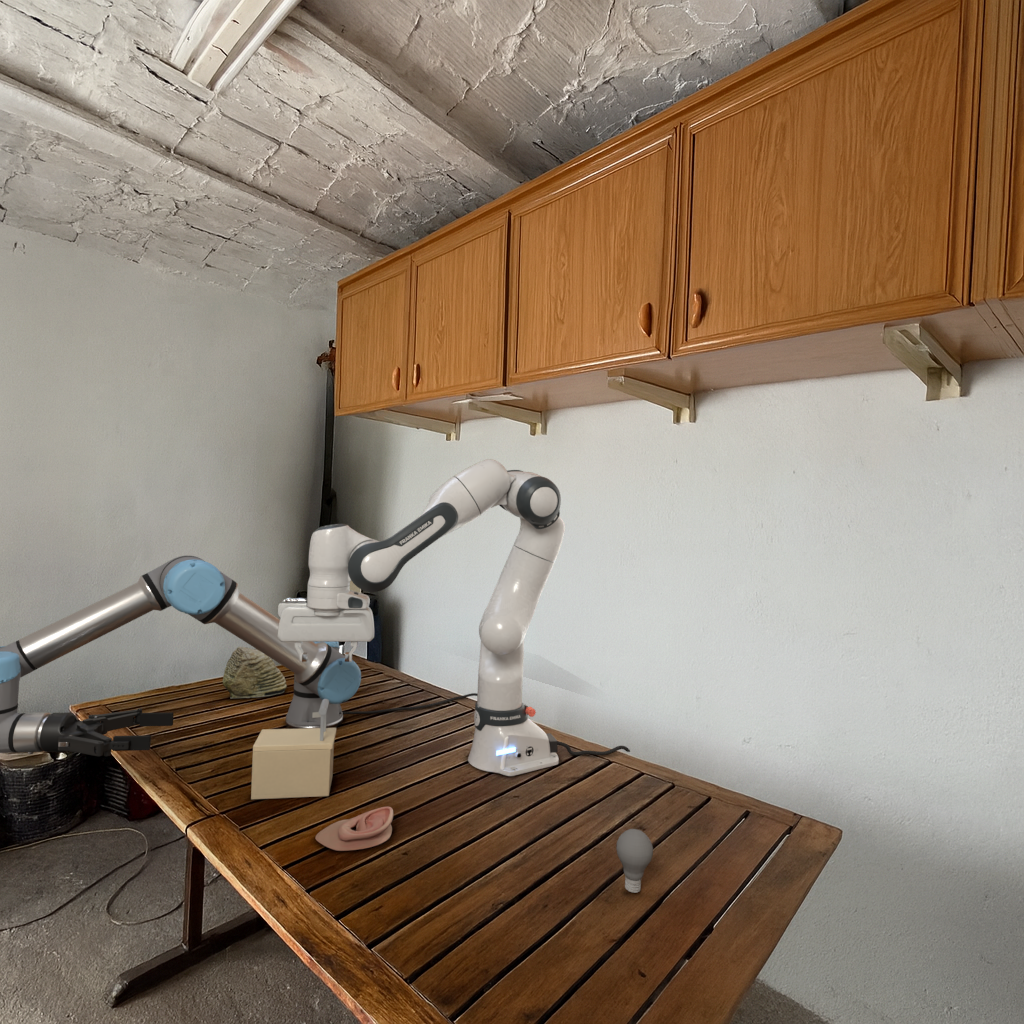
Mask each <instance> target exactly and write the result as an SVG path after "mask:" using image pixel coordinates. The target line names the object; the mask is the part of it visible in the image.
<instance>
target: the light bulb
mask: <svg viewBox="0 0 1024 1024" xmlns="http://www.w3.org/2000/svg"><path fill="white" fill-rule="evenodd" d="M615 849H616V854H617V857H618V859H619V861H620V863H621V865H622V867H623V873H624V874H623V875H624V876H625V878H624V888H625V890H627V891H628V892H630V893H634V894H635V893H639V892H640V891H641V889H642V887H641V886H642V879H643V877H644V875H645V871H646V868H647V867H648V866H649V864H650V863H651V861H652V859H653V855H654V847H653V843H652V841H651V838H649V836H648V835H647V834H646V833H645V832H643V831H642V830H641V829H636V828H629V829H627V830H625V831H623V832H622V833H621V834H620V835H619V837H618V839H617V841H616V847H615Z"/></svg>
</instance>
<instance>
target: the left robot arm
mask: <svg viewBox="0 0 1024 1024" xmlns="http://www.w3.org/2000/svg"><path fill="white" fill-rule="evenodd" d="M171 607H172V608H174V609H175V610H177V611H178V612H180V613H184V614H186V615H188V616H190V617H192V618H194V619H195V620H196V621H199V622H200V623H202V624H203V625H209V624H216V625H218V626H219V627H221V628H222V629H224V630H226V631H227V632H229V633H231V634H232V635H234V636H235V637H237V638H238V639H240V640H242V641H243V642H245V643H246V644H248V645H249V646H251V647H253V649H257V650H259V651H261V652H262V653H264V654H265V655H267V656H268V657H269V658H271V659H272V660H273V661H275V662H276V663H278V664H280V665H281V666H283V667H284V668H286V669H287V670H289V671H291V672H292V673H294V674H293V695H292V696H293V697H292V699H291V702H290V704H289V708H288V711H287V713H286V715H285V726H286V728H287V729H304V728H320V723H321V715H320V714H319V709H320V706H321V703H322V700H323V699H328V700H329V705H328V709H327V715H326V728H337V727H339V726H340V725H342V723H343V722H344V715H372V714H373V715H374V714H382V713H389V712H397V711H410V710H420V709H426V708H431V707H434V706H438V705H443V704H445V703H449V702H452V701H455V700H460V699H465V698H468V697H477V693H478V692H477V693H476V692H473V693H467V694H463V695H457V696H453V697H450V698H448V699H444V700H441V701H437V702H433V703H428V704H423V705H416V706H405V707H392V708H386V709H378V710H369V711H364V710H363V711H361V710H360V711H357V710H353V711H352V710H351V711H343V709H342V706H341V704H342V703H346V702H347V701H349V700H351V698H353V696H354V695H356V694H357V692H358V690H359V688H360V686H361V682H362V672H361V668H360V667H359V665H358V664H357V662H355V661H354V660H353V659H352V662H345V654H343V653H341V652H340V648H341V647H340V642H303V644H302V646H301V648H302V650H303V651H304V652H308V656H307V657H308V659H307V662H300V654H299V653H298V651H297V650H296V648H295V642H281V641H280V640H279V638H278V627H279V622H280V618H278V617H277V616H275V615H274V614H273V613H271V612H269V611H267V610H266V609H265V608H263V606H261V605H259V604H257V603H256V602H254V601H253V600H251V599H250V598H248V597H247V596H246V595H244V594H242V593H241V592H240V590H239V584H238V582H237V581H235V580H234V579H232V578H231V577H229V576H227V574H225V573H224V572H222V571H220V570H219V569H218V567H216V566H215V565H214V564H212V563H210V562H209V561H206V560H204V559H203V558H200V557H198V556H194V555H180V556H177V557H174V558H172V559H170V560H168V561H166V562H165V563H163V564H161V565H159V566H158V567H156V568H154V569H152V570H150V571H149V572H146V573H144V574H142V575H140V576H139V579H138V581H137V582H136V583H133V584H131V585H129V586H127V587H125V588H123V589H121V590H119V591H117V592H115V593H112V594H111V595H109V596H107V597H105V598H101V599H100V600H98V601H96V602H93V603H92V604H90V605H87V606H86V607H84V608H82V609H79V610H77V611H75V612H73V613H72V614H69V615H67V616H65V617H63V618H61V619H59V620H56V621H55V622H53V623H51V624H49V625H46V626H44V627H42V628H40V629H38V630H36V631H34V632H32V633H30V634H27V635H25V636H24V637H21V638H19V639H18V640H16V641H13V642H11V643H9V644H6V645H3V646H2V645H1V646H0V754H5V753H6V754H7V753H27V755H33V754H34V753H41V752H45V753H63V752H74V753H79V754H84V755H88V756H93V757H102V756H104V757H111V756H112V752H130V751H132V752H133V751H134V752H135V751H150V750H151V741H152V735H151V734H150V735H148V734H146V735H145V734H144V735H139V734H138V735H113V737H112V738H111V737H109V736H106V734H107V733H108V732H111V731H115V730H120V729H124V728H130V727H133V726H134V727H135V726H139V727H172V726H173V725H174V713H175V712H143V708H141V707H140V708H139V707H138V708H137V709H132V710H124V711H115V712H108V713H102V714H101V713H99V714H98V713H97V714H89V715H88V718H85V719H83V720H78V719H77V717H76V715H75V714H74V713H73V712H52V713H50V712H18V711H19V710H18V708H19V693H20V692H19V691H20V681H21V679H22V677H25V676H26V675H29V674H31V673H32V672H35V671H36V670H38V669H39V668H42V667H45V666H46V665H48V664H50V663H52V662H54V661H56V660H58V659H59V658H62V657H64V656H65V655H68V654H69V653H72V652H73V651H75V650H78V649H79V648H81V647H84V646H85V645H87V644H89V643H91V642H93V641H95V640H97V639H99V638H101V637H103V636H106V635H107V634H109V633H111V632H113V631H115V630H117V629H119V628H121V627H123V626H125V625H127V624H129V623H131V622H132V621H135V620H138V619H139V618H141V617H143V616H145V615H147V614H148V613H150V612H153V611H158V612H162V611H164V610H166V609H168V608H171Z"/></svg>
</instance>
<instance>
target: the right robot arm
mask: <svg viewBox="0 0 1024 1024" xmlns="http://www.w3.org/2000/svg"><path fill="white" fill-rule="evenodd" d="M561 498H562V497H561V492H560V490H559V488H558V486H557V485H556V484H555V483H554V482H553V481H552V480H551V479H550V478H548V477H545V476H542V475H540V474H538V473H535V472H532V471H524V470H521V469H510V470H507V468H506V467H505V466H504V465H503V464H502V463H501V462H499V461H497V460H496V459H492V458H487V459H483V460H482V461H481V460H480V461H479V462H477V463H473V464H472V465H470V466H468V467H466V468H465V469H463V470H461V471H459V472H457V473H456V474H454V475H453V476H452V477H450V478H449V479H447V480H446V481H444V483H442V484H441V485H440V486H438V488H437V489H436V490H435V491H433V493H432V494H431V495H430V496H429V500H428V501H427V504H426V507H425V508H424V509H423V511H422V512H421V514H419V516H417V517H416V518H414V520H412V521H411V522H409V523H408V524H406V525H405V526H403V527H402V528H401V529H400V530H398V531H396V532H395V533H394V534H393V535H391V536H389V537H388V538H385V539H383V540H377V539H374V538H371V537H368V536H366V535H364V534H362V533H360V532H358V531H356V530H355V529H353V528H351V527H350V525H349V524H347V523H346V524H345V523H333V524H327V525H323V526H320V527H318V528H317V529H315V530H314V531H313V532H312V534H311V538H310V541H309V547H308V568H309V578H308V581H307V591H306V592H307V594H306V595H307V596H306V597H295V598H294V597H286V598H285V599H282V600H281V601H279V603H278V605H277V615H278V617H279V619H280V622H279V627H278V638H279V640H280V641H281V642H295V648H296V650H297V651H298V653H299V654H300V662H307V659H308V657H307V656H308V652H304V651H303V650H302V648H301V646H302V644H303V642H339V643H341V642H343V643H345V642H348V643H349V642H350V647H351V648H350V650H349V651H346V652H345V653H344V656H345V662H352V660H353V654H354V652H355V651H356V649H357V647H358V644H359V642H362V643H363V642H364V643H365V642H366V643H367V642H369V643H370V642H371V641H372V640H373V639H375V621H374V614H373V610H372V609H371V607H370V604H371V603H370V602H371V600H370V596H369V595H367V594H364V593H362V592H358V591H356V590H352V589H351V582H352V583H353V585H354V586H356V588H358V589H360V590H362V591H365V592H368V593H376V592H380V591H383V590H385V589H387V588H388V587H390V586H391V585H392V584H393V583H394V582H395V580H396V579H397V577H398V576H399V574H400V572H401V570H402V569H403V568H404V566H405V565H406V564H407V563H408V562H409V561H410V560H412V559H414V558H415V557H416V556H417V555H418V554H420V553H421V552H423V551H424V550H425V549H427V548H428V547H429V546H431V545H432V544H433V543H436V541H439V539H440V538H442V537H445V536H446V535H448V534H450V533H453V532H454V531H457V530H459V529H461V528H463V527H465V526H466V525H468V524H471V523H472V522H474V521H475V520H476V519H478V518H479V517H481V516H482V515H484V514H485V513H486V512H488V511H489V510H490V509H493V508H494V507H497V506H499V507H500V508H502V509H503V510H504V511H507V512H508V513H510V514H511V515H513V516H515V517H517V518H519V521H520V526H519V531H518V534H517V536H516V538H515V541H514V542H513V545H512V547H511V550H510V551H509V554H508V556H507V559H506V561H505V563H504V566H503V568H502V570H501V572H500V574H499V577H498V580H497V582H496V585H495V587H494V590H493V592H492V594H491V596H490V598H489V601H488V604H487V606H486V608H485V609H484V611H483V613H482V616H481V618H480V622H479V626H478V636H479V639H480V644H479V646H480V647H479V648H480V649H479V659H478V671H477V672H478V674H477V696H476V697H477V698H476V702H475V704H474V713H473V720H474V721H473V722H474V723H473V724H474V733H473V739H472V743H471V747H470V751H469V754H468V757H467V762H468V763H469V764H470V765H471V766H472V767H473V768H475V769H478V770H480V771H484V772H487V773H488V772H489V773H496V774H500V775H503V776H506V777H515V776H519V775H523V774H526V773H531V772H535V771H537V770H542V769H546V768H550V767H553V766H558V765H559V763H560V759H559V755H558V754H557V753H558V747H559V746H561V747H564V748H565V749H566V751H567V753H568V754H569V755H571V756H576V757H577V756H583V755H593V756H607V755H608V756H609V755H610V754H614V753H615V752H617V751H619V750H623V751H625V752H626V753H630V752H631V749H630V748H628V747H627V746H625V745H618V746H615V747H613V748H611V749H609V750H604V751H598V750H597V751H596V750H579V751H573V750H572V749H571V747H570V745H568V744H567V743H565V742H562V741H559V740H557V738H555V736H554V735H553V734H552V733H551V732H550V733H549V732H548V733H546V732H545V730H544V729H542V728H541V727H540V726H539V725H538V724H536V722H534V721H533V720H531V719H530V718H534V717H535V715H536V713H537V712H536V709H535V708H533V707H532V706H529V705H528V704H526V703H524V702H523V687H524V684H523V683H524V659H525V658H524V657H525V637H526V635H527V633H528V630H529V627H530V625H531V622H532V620H533V617H534V614H535V613H536V609H537V606H538V604H539V601H540V598H541V595H542V593H543V591H544V589H545V586H546V584H547V582H548V579H549V577H550V575H551V572H552V570H553V568H554V566H555V563H556V560H557V558H558V556H559V553H560V550H561V548H562V544H563V540H564V536H565V531H566V524H565V521H564V520H563V519H562V517H561V516H560V514H561V512H560V511H561V505H562V499H561ZM529 717H530V718H529Z"/></svg>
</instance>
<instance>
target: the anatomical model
mask: <svg viewBox="0 0 1024 1024" xmlns="http://www.w3.org/2000/svg"><path fill="white" fill-rule="evenodd" d="M393 819H394V809H393V808H392V807H391V806H382V807H378V808H375V809H372V810H368V811H365V812H363V813H361V814H358V815H357V816H354V817H351V818H348V819H341V820H338V821H336V822H334V823H331V824H330V825H328V826H326V827H324V828H323V829H321V830H320V831H319V832H318V833H317V834H316V835H315V840H316V841H317V842H318V843H319V844H320V845H322V846H324V847H326V848H328V849H330V850H333V851H336V852H347V851H357V850H364V849H369V848H372V847H376V846H379V845H382V844H383V843H385V842H387V841H388V840H389V839H390V838H391V836H392V832H393V826H392V822H393Z"/></svg>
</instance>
